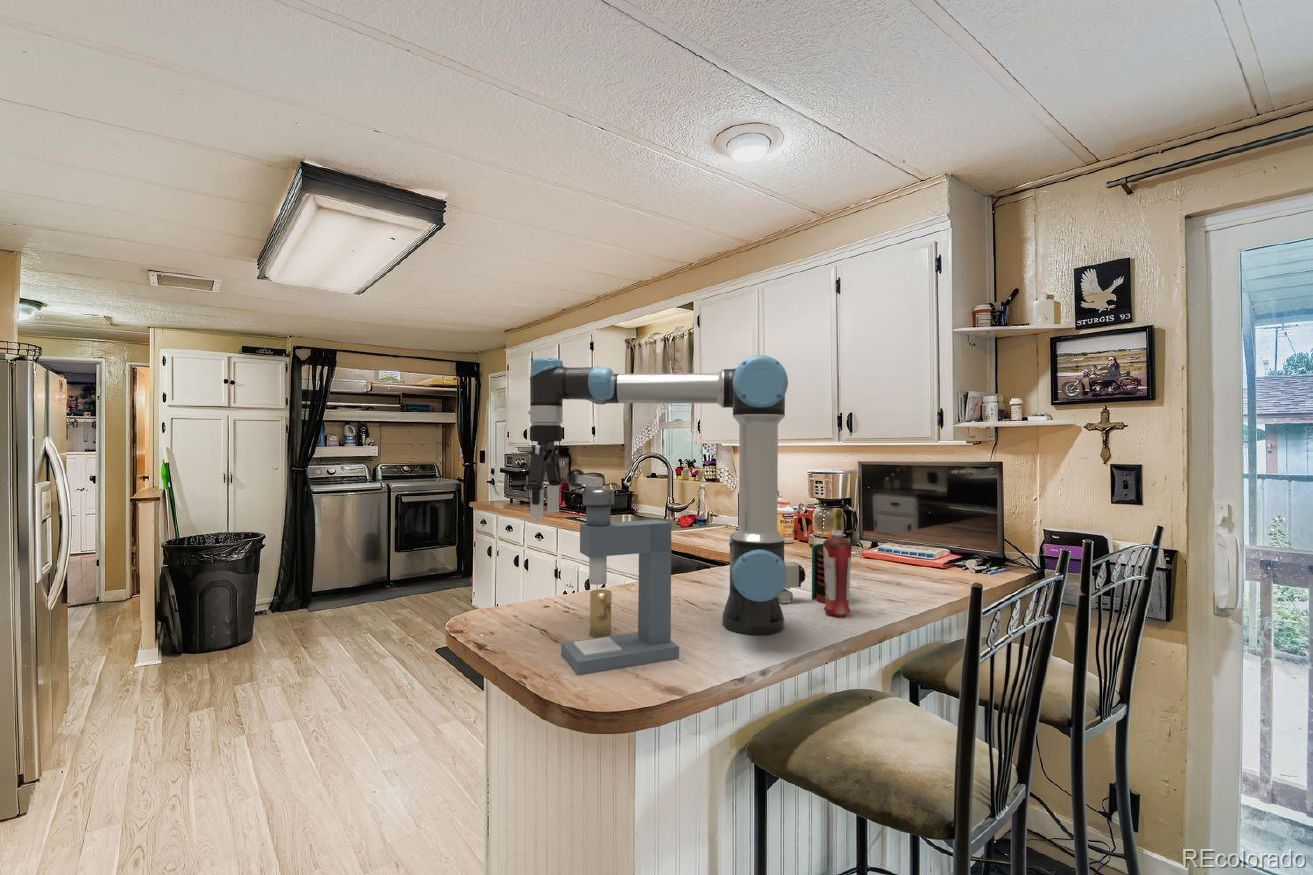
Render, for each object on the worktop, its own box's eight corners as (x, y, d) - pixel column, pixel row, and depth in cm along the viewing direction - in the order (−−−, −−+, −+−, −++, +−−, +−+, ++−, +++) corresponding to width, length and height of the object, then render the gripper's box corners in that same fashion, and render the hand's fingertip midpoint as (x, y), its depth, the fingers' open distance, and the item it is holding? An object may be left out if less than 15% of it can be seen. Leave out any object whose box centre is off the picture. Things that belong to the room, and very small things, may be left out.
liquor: (818, 610, 158) (819, 507, 158) (845, 610, 159) (845, 507, 159) (828, 618, 151) (828, 510, 151) (856, 618, 151) (856, 510, 152)
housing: (612, 631, 139) (613, 589, 140) (609, 638, 134) (609, 594, 135) (592, 630, 140) (592, 588, 140) (587, 637, 135) (588, 594, 135)
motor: (810, 602, 166) (811, 532, 166) (813, 595, 174) (813, 528, 175) (848, 606, 163) (848, 534, 163) (848, 598, 171) (848, 530, 171)
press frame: (655, 640, 133) (656, 500, 134) (678, 658, 122) (680, 505, 123) (561, 654, 124) (562, 503, 124) (577, 674, 113) (579, 509, 113)
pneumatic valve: (805, 603, 165) (805, 561, 165) (766, 605, 163) (766, 562, 163) (797, 598, 171) (797, 557, 171) (759, 600, 168) (759, 558, 169)
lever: (586, 496, 139) (586, 468, 139) (618, 505, 120) (618, 472, 120) (559, 497, 137) (560, 468, 137) (588, 506, 117) (588, 473, 117)
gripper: (545, 426, 149) (544, 509, 149) (512, 422, 124) (511, 522, 124) (574, 426, 149) (573, 509, 148) (547, 422, 124) (546, 522, 124)
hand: (545, 515), depth 136 cm, fingers open, 13 cm apart
